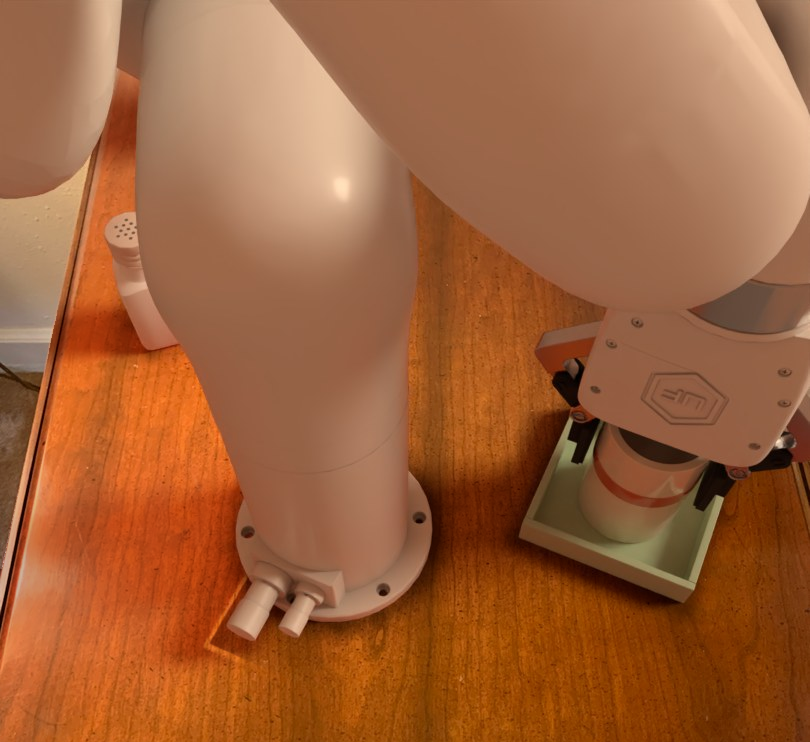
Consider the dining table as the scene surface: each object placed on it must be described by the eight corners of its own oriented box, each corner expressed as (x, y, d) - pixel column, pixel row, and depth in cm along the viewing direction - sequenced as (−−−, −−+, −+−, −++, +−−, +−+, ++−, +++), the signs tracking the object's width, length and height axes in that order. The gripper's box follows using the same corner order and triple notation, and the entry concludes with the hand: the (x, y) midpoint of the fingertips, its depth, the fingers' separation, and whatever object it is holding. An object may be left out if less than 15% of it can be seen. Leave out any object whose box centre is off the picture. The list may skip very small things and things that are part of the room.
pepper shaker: (199, 342, 60) (165, 244, 52) (145, 355, 60) (101, 258, 51) (188, 302, 62) (154, 200, 53) (136, 314, 61) (92, 214, 53)
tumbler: (659, 559, 52) (706, 489, 44) (563, 521, 53) (591, 447, 45) (687, 478, 55) (737, 399, 46) (595, 444, 56) (627, 360, 48)
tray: (681, 605, 51) (693, 590, 49) (517, 539, 53) (522, 522, 51) (727, 467, 55) (740, 448, 53) (573, 411, 57) (580, 391, 55)
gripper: (526, 247, 34) (488, 465, 50) (953, 387, 31) (768, 572, 47) (585, 136, 37) (532, 375, 53) (980, 253, 34) (797, 470, 50)
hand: (643, 466), depth 50 cm, fingers open, 7 cm apart
